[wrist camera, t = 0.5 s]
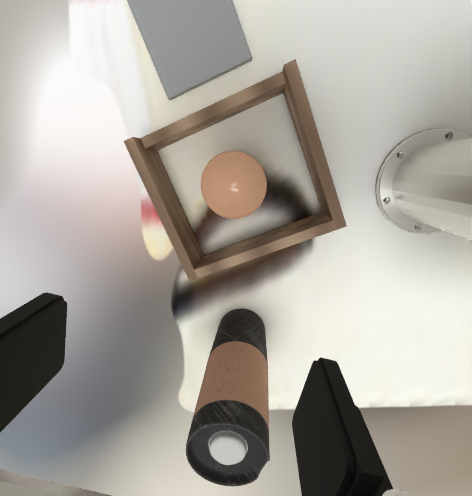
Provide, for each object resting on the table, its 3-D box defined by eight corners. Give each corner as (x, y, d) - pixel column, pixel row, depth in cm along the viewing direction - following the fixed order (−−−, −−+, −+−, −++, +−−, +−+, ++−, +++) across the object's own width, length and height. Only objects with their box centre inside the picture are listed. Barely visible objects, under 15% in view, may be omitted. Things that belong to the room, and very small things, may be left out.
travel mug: (210, 314, 43) (170, 432, 24) (257, 301, 42) (253, 413, 23) (227, 354, 45) (203, 493, 26) (273, 343, 44) (282, 480, 25)
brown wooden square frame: (289, 77, 33) (295, 59, 28) (333, 216, 37) (346, 226, 32) (144, 145, 37) (123, 141, 31) (199, 265, 41) (189, 281, 35)
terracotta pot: (254, 146, 36) (252, 139, 27) (272, 195, 37) (276, 204, 29) (206, 166, 37) (190, 166, 29) (226, 213, 39) (216, 227, 30)
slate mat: (215, -46, 31) (214, -51, 30) (251, 60, 33) (251, 57, 32) (130, 4, 33) (127, 0, 32) (170, 100, 35) (168, 98, 34)
